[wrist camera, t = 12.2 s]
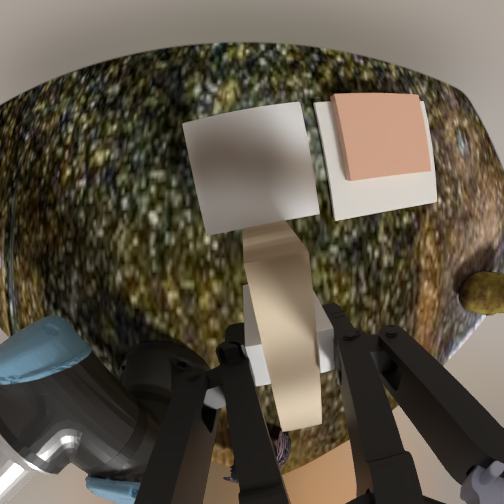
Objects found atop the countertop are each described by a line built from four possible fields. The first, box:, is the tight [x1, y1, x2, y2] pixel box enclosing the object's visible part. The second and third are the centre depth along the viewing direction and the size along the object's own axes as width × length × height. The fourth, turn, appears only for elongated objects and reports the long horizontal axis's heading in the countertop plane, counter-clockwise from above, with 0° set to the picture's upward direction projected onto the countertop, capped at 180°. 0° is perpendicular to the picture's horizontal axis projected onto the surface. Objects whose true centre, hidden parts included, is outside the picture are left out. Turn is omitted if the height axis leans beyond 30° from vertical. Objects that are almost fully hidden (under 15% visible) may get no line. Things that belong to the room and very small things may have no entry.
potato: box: [459, 271, 504, 316], centre depth 32 cm, size 8×13×8 cm, turn 75°
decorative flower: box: [223, 428, 291, 483], centre depth 41 cm, size 14×12×15 cm
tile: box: [330, 93, 431, 181], centre depth 27 cm, size 12×2×10 cm
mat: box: [313, 101, 437, 221], centre depth 29 cm, size 16×14×1 cm
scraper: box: [182, 102, 322, 432], centre depth 15 cm, size 19×7×6 cm, turn 11°
